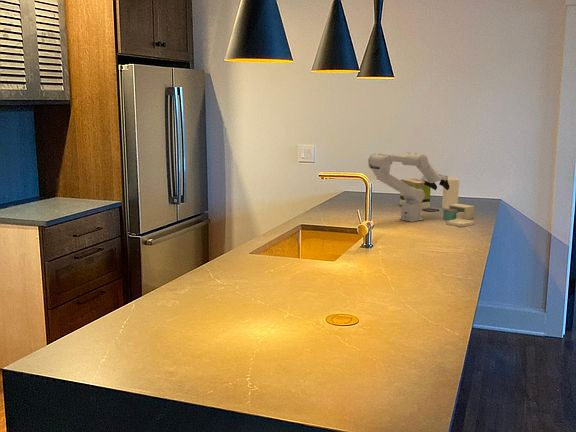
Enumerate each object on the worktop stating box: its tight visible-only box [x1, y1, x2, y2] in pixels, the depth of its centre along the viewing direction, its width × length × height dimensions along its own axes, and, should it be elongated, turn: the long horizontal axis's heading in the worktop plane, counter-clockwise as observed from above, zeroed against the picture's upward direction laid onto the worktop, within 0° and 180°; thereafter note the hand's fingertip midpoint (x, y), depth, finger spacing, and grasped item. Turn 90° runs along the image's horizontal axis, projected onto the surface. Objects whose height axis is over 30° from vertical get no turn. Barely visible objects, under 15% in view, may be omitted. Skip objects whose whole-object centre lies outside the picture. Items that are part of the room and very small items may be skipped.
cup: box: [441, 177, 460, 210], centre depth 356 cm, size 8×8×16 cm
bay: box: [449, 203, 475, 220], centre depth 327 cm, size 12×10×6 cm
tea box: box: [399, 178, 432, 210], centre depth 357 cm, size 15×10×15 cm, turn 25°
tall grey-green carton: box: [442, 208, 458, 221], centre depth 323 cm, size 6×4×5 cm, turn 132°
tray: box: [445, 219, 475, 228], centre depth 312 cm, size 11×9×2 cm
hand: (442, 188), depth 330 cm, fingers open, 7 cm apart
